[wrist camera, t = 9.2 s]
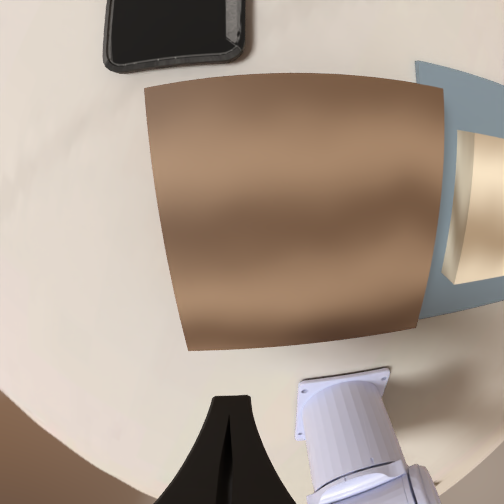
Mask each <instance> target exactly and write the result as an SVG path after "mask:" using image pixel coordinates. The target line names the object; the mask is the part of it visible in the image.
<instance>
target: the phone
mask: <svg viewBox="0 0 504 504" xmlns="http://www.w3.org/2000/svg"><path fill="white" fill-rule="evenodd" d="M244 46H245V0H107V6H106V15H105V26H104V40H103V63H104V65H105V67H106V68H107V69H109V70H110V71H113V72H116V73H119V74H126V73H132V72H133V71H134V72H138V71H145V70H152V69H160V68H168V67H177V66H188V65H201V64H221V63H228V62H231V61H233V60H235V59H237V58H238V57H239V56H240V55H241V54H242V52H243V50H244Z"/></svg>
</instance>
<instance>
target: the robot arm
mask: <svg viewBox="0 0 504 504" xmlns="http://www.w3.org/2000/svg"><path fill="white" fill-rule="evenodd" d="M389 375H390V370H389V369H388V368H383V369H378V370H372V371H367V372H361V373H355V374H349V375H343V376H336V377H329V378H321V379H313V380H305V381H301V382H300V383H299V384H298V397H297V413H296V427H295V440H297V441H301V440H306V446H307V453H308V459H309V465H310V472H311V478H312V484H313V487H314V493H313V494H311V495H308V496H306V497H307V504H441V501H440V499H439V496H438V493H437V490H436V488H435V485H434V483H433V481H432V478H431V476H430V474H429V472H428V470H427V468H426V467H424V466H419V465H418V464H414V465H412V466H410V467H409V466H408V465H407V464H406V461H405V458H404V456H403V453H402V450H401V447H400V445H399V442H398V439H397V437H396V434H395V431H394V429H393V426H392V424H391V421H390V419H389V416H388V413H387V411H386V408H385V406H384V403H383V401H382V396H383V393H384V390H385V387H386V384H387V381H388V379H389ZM304 389H305V390H304ZM154 504H296V503H295V501H294V500H293V498H292V497H291V496H290V494H289V493H288V491H287V489H286V488H285V486H284V485H283V483H282V481H281V480H280V478H279V476H278V475H277V473H276V471H275V469H274V467H273V465H272V463H271V461H270V459H269V457H268V455H267V453H266V451H265V448H264V446H263V443H262V441H261V438H260V436H259V433H258V430H257V427H256V424H255V421H254V417H253V413H252V405H251V397H250V396H248V395H238V396H215V397H213V398H212V402H211V405H210V408H209V411H208V414H207V417H206V419H205V422H204V424H203V426H202V429H201V431H200V433H199V435H198V437H197V439H196V442H195V444H194V446H193V447H192V449H191V451H190V453H189V455H188V456H187V458H186V460H185V462H184V463H183V465H182V467H181V468H180V470H179V471H178V473H177V474H176V476H175V477H174V479H173V480H172V482H171V483H170V484H169V486H168V487H167V488H166V489H165V491H164V492H163V493H162V495H161V496H160V497H159V498H158V499H157V501H156V502H155V503H154Z"/></svg>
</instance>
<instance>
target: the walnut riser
mask: <svg viewBox="0 0 504 504" xmlns="http://www.w3.org/2000/svg"><path fill="white" fill-rule="evenodd" d="M144 92H145V105H146V116H147V126H148V136H149V145H150V153H151V161H152V169H153V176H154V183H155V190H156V197H157V203H158V210H159V216H160V222H161V227H162V233H163V239H164V244H165V249H166V255H167V260H168V265H169V270H170V275H171V280H172V284H173V289H174V294H175V298H176V303H177V307H178V311H179V316H180V320H181V324H182V328H183V332H184V336H185V340H186V344H187V348H188V351H203V350H231V349H249V348H264V347H277V346H289V345H299V344H309V343H318V342H327V341H335V340H343V339H350V338H357V337H364V336H371V335H377V334H383V333H389V332H395V331H401V330H406V329H411V328H416V326H417V322H418V318H419V315H420V311H421V307H422V303H423V299H424V295H425V290H426V286H427V281H428V277H429V272H430V267H431V262H432V256H433V251H434V245H435V239H436V232H437V225H438V218H439V210H440V201H441V191H442V179H443V163H444V92H443V88H439V87H434V86H429V85H423V84H418V83H412V82H406V81H399V80H392V79H384V78H376V77H366V76H355V75H341V74H320V73H270V74H249V75H234V76H223V77H213V78H205V79H197V80H189V81H182V82H176V83H170V84H164V85H158V86H153V87H148V88H144Z"/></svg>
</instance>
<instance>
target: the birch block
mask: <svg viewBox="0 0 504 504" xmlns="http://www.w3.org/2000/svg"><path fill="white" fill-rule="evenodd" d="M441 273H442V274H443V275H444V276H445V277H447V278H448V279H449V280H450V281H451V282H452V283H453V284H454V285H455V284H461V283H467V282H473V281H478V280H484V279H489V278H494V277H500V276H504V139H502V138H498V137H493V136H488V135H483V134H478V133H473V132H467V131H461V130H457V159H456V175H455V187H454V197H453V206H452V214H451V221H450V228H449V234H448V240H447V246H446V251H445V256H444V261H443V266H442V271H441Z"/></svg>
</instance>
